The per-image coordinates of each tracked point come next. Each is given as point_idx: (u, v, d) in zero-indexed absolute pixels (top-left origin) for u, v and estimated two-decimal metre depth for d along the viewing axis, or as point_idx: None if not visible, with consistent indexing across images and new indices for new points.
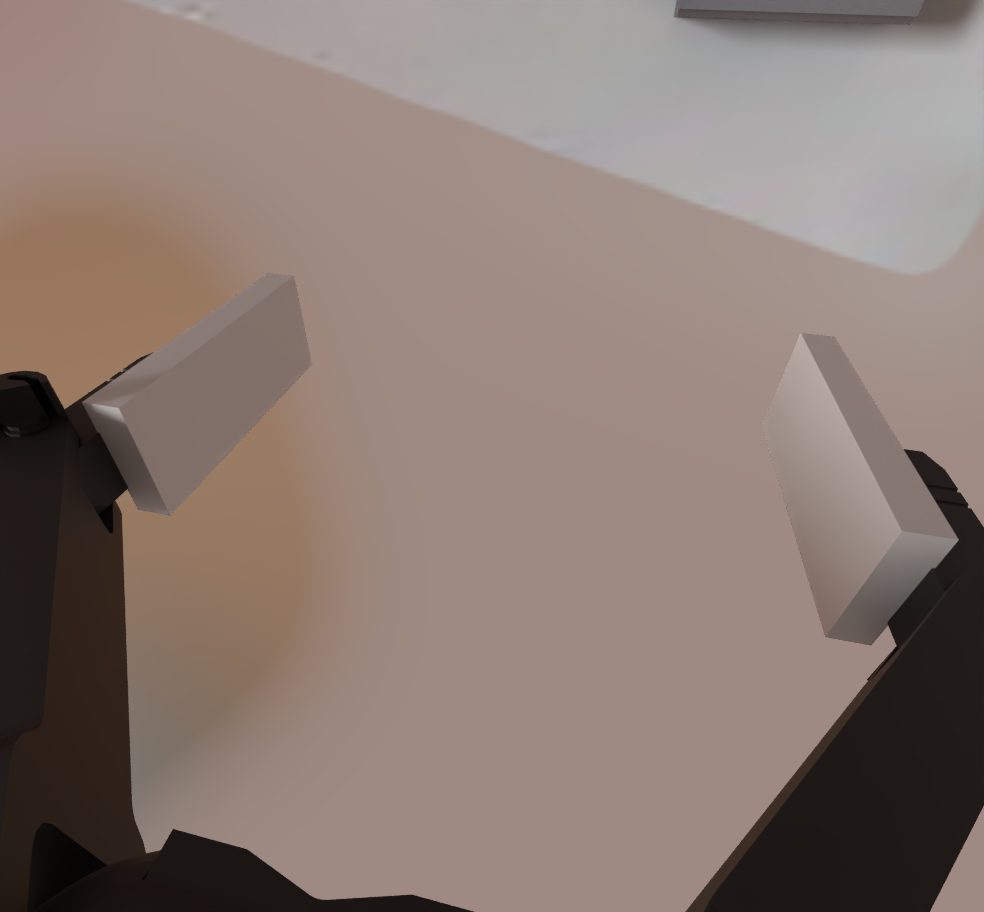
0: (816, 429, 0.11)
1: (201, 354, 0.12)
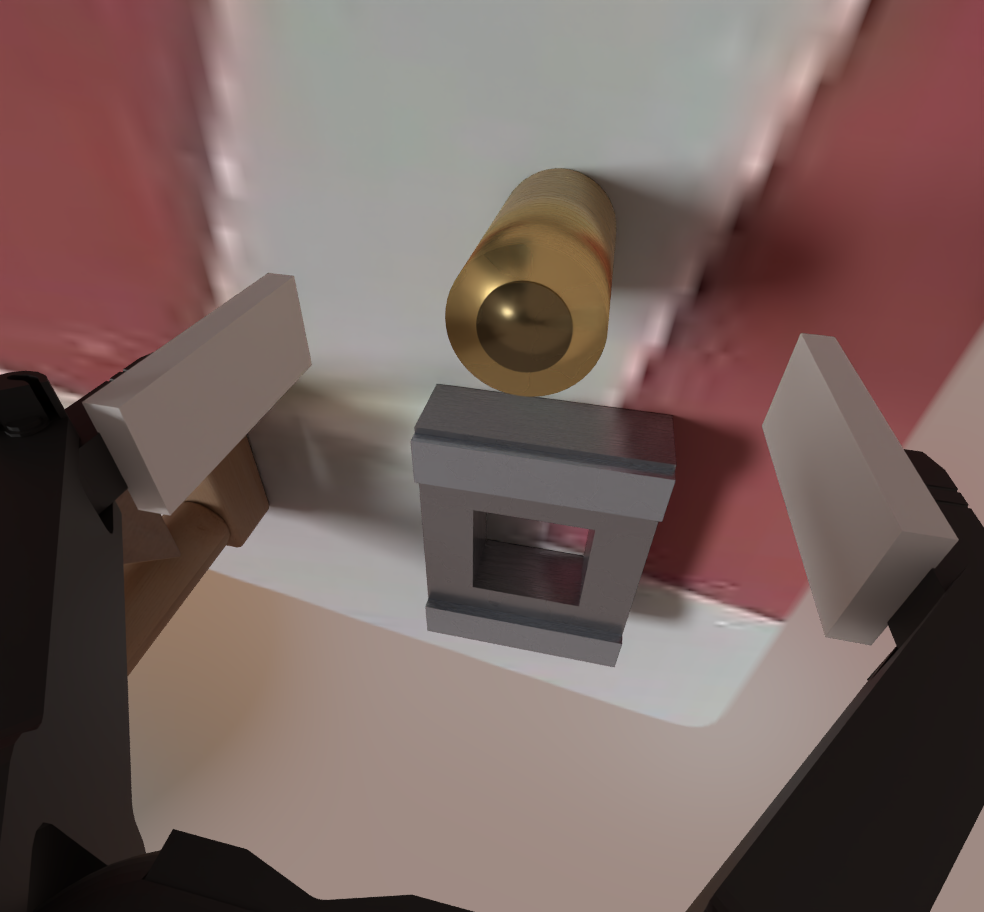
0: (816, 428, 0.11)
1: (201, 354, 0.12)
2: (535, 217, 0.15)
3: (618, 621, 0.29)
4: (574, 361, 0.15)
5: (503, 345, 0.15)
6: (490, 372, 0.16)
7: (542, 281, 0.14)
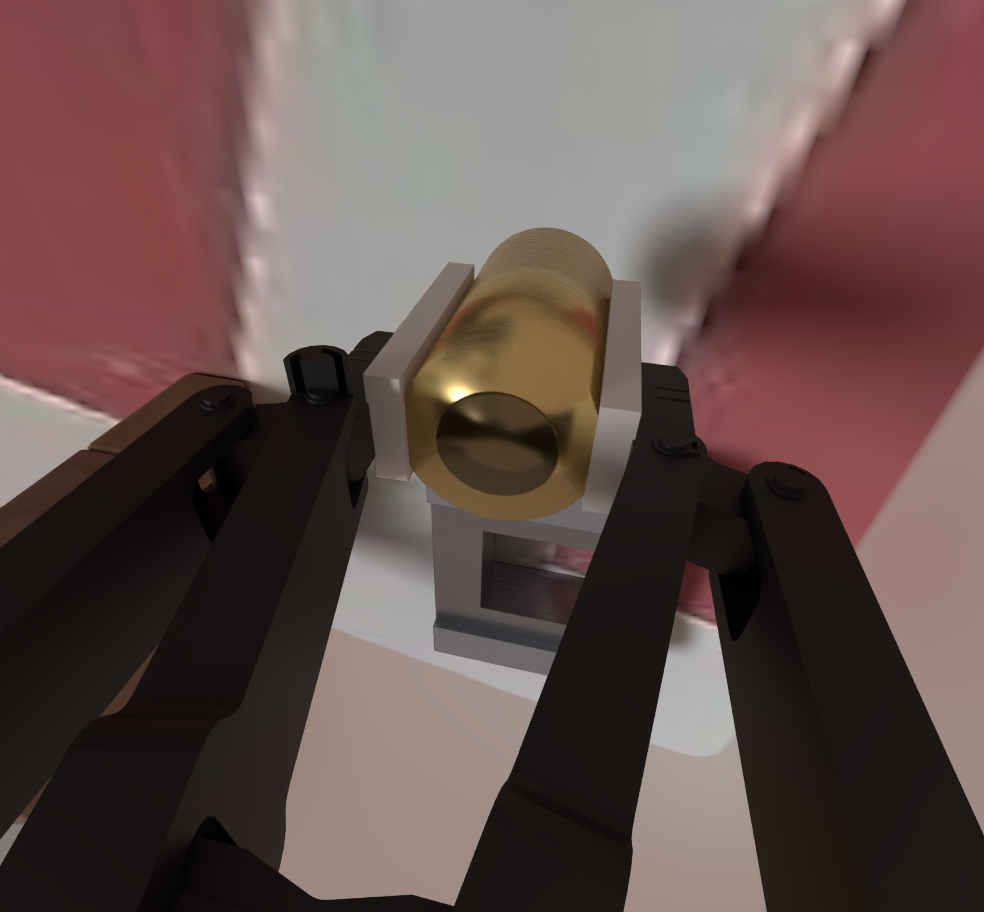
0: None
1: (432, 334, 0.13)
2: (511, 304, 0.12)
3: None
4: (561, 485, 0.12)
5: (471, 464, 0.12)
6: (457, 492, 0.13)
7: (518, 393, 0.11)
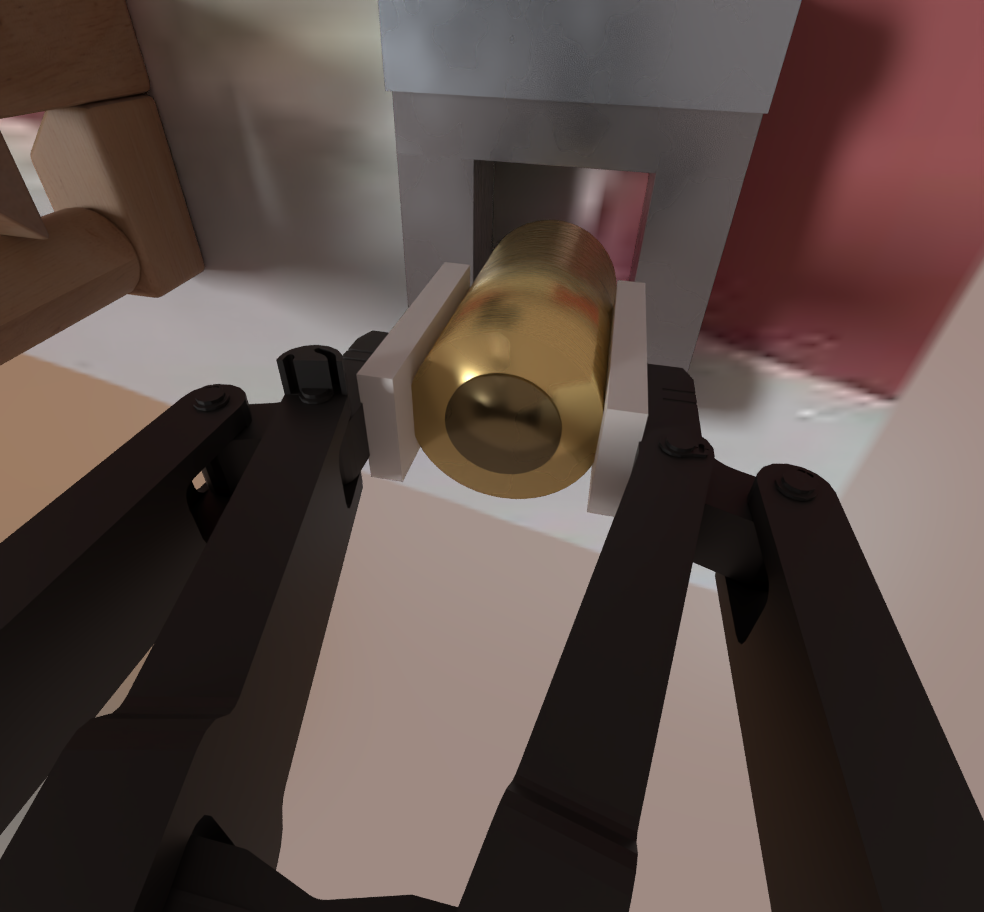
0: None
1: (427, 334, 0.13)
2: (516, 291, 0.12)
3: None
4: (564, 463, 0.12)
5: (478, 444, 0.12)
6: (465, 471, 0.13)
7: (523, 374, 0.11)
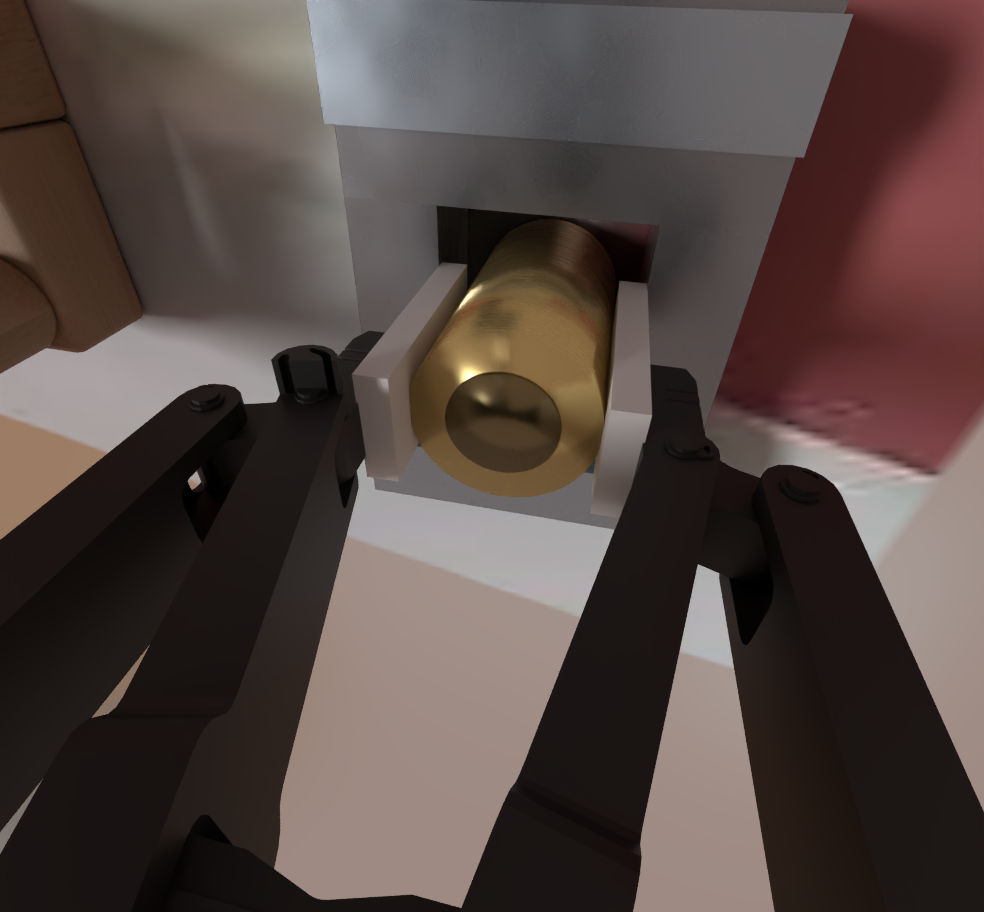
0: (610, 354, 0.14)
1: (423, 334, 0.13)
2: (516, 290, 0.13)
3: None
4: (564, 461, 0.13)
5: (478, 442, 0.12)
6: (464, 470, 0.13)
7: (522, 373, 0.11)
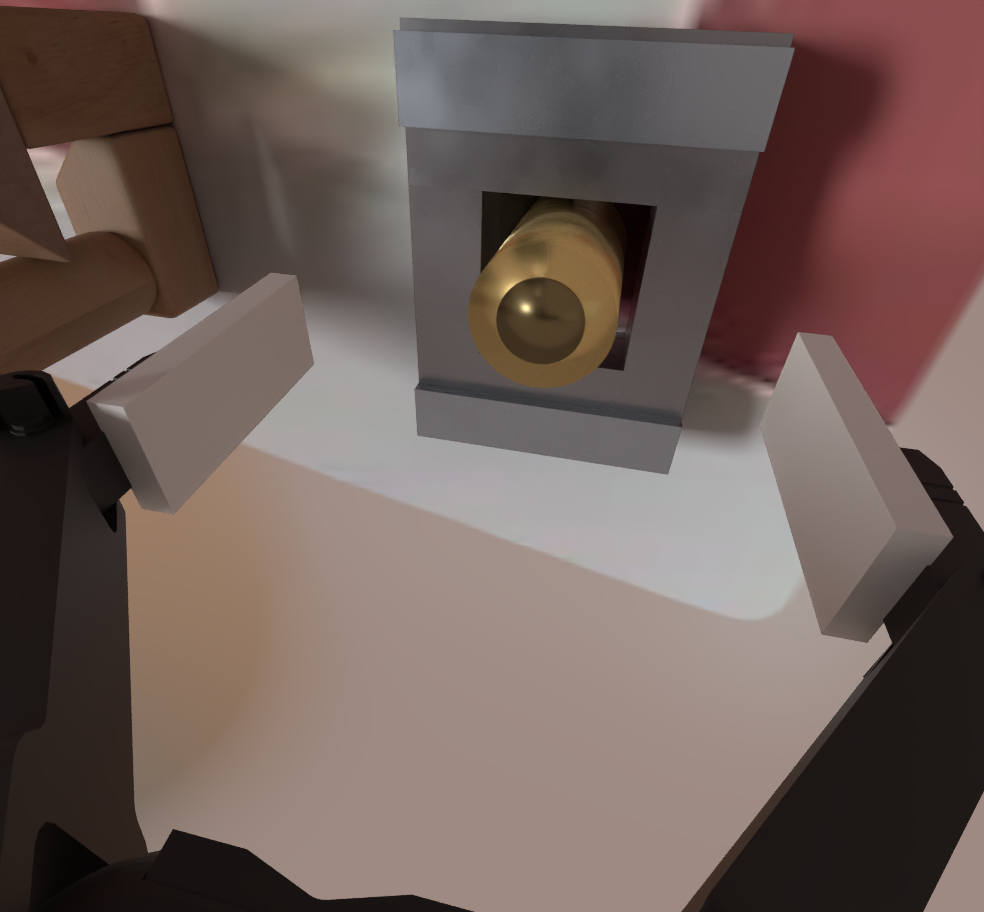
0: (812, 426, 0.11)
1: (204, 353, 0.12)
2: (550, 224, 0.17)
3: (678, 394, 0.21)
4: (586, 353, 0.16)
5: (520, 338, 0.16)
6: (508, 365, 0.17)
7: (556, 277, 0.15)
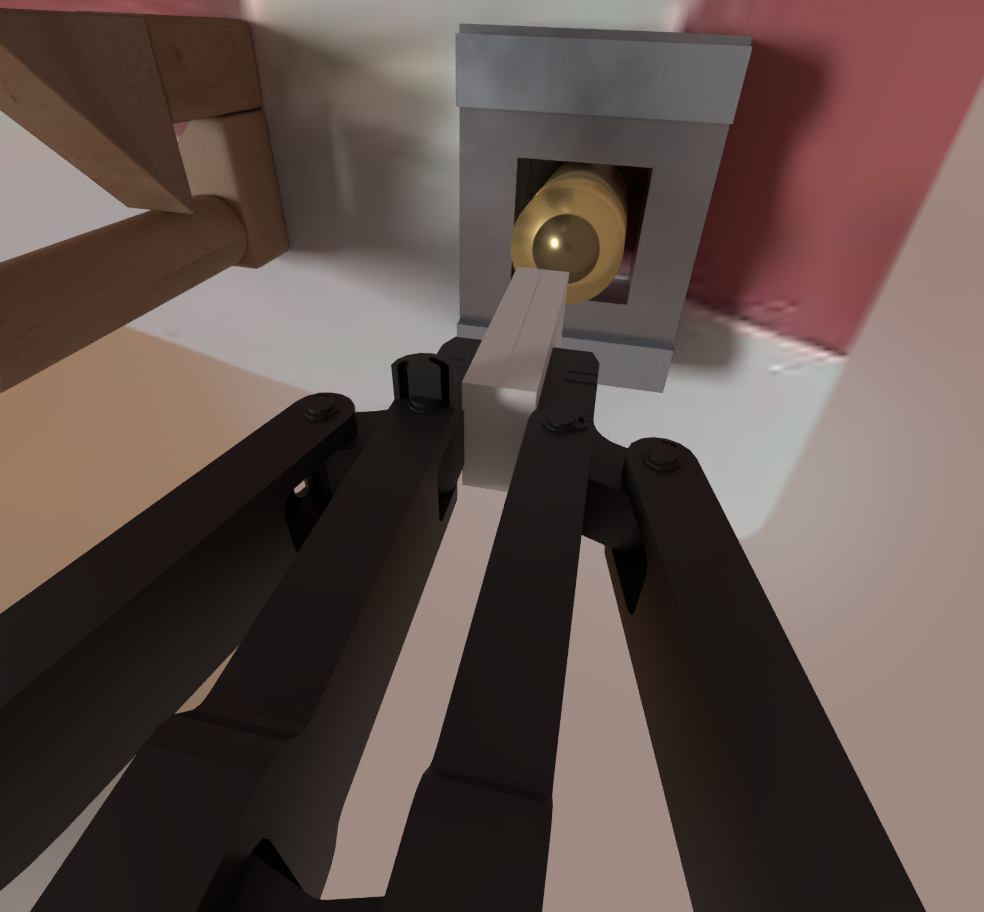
0: None
1: None
2: (571, 177, 0.22)
3: (670, 323, 0.27)
4: (601, 273, 0.22)
5: (551, 263, 0.22)
6: None
7: (577, 213, 0.21)
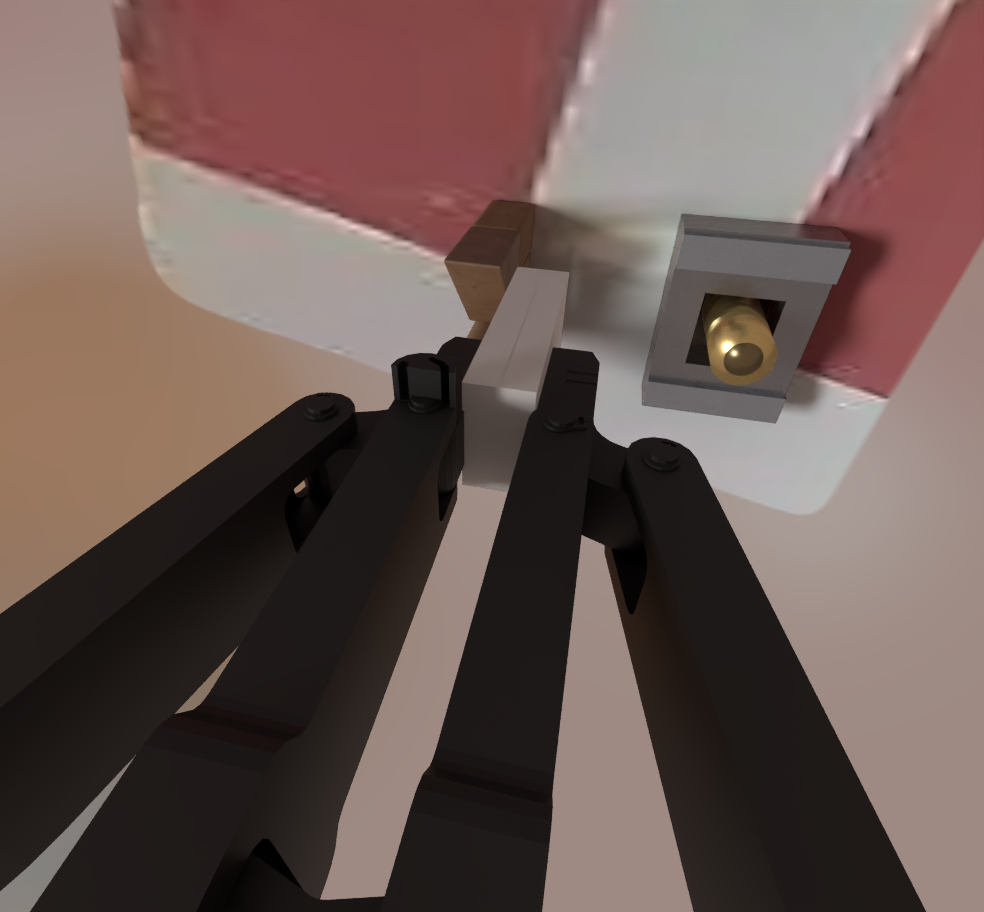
0: None
1: None
2: (742, 316, 0.39)
3: (784, 383, 0.44)
4: (762, 369, 0.39)
5: (734, 366, 0.40)
6: (726, 377, 0.40)
7: (752, 342, 0.38)
